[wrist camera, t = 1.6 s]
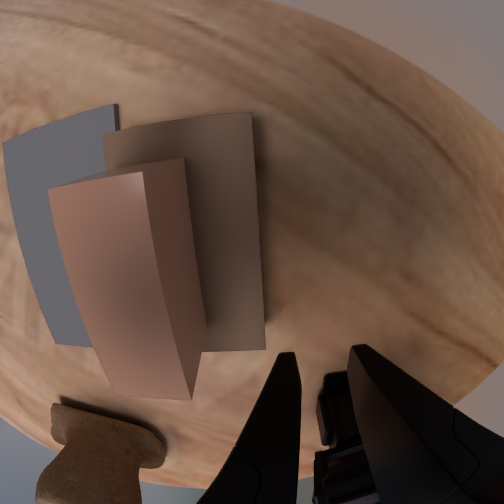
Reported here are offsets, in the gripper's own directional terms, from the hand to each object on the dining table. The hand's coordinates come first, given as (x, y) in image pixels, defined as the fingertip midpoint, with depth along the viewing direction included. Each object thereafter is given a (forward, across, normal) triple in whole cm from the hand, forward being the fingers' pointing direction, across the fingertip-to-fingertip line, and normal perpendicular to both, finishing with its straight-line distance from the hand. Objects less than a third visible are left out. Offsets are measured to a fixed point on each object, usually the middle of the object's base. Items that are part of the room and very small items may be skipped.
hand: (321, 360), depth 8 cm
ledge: (+12, +6, 0) cm, 13 cm away
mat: (+12, +15, 0) cm, 19 cm away
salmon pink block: (+9, +7, 0) cm, 11 cm away
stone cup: (+12, +20, +22) cm, 32 cm away
